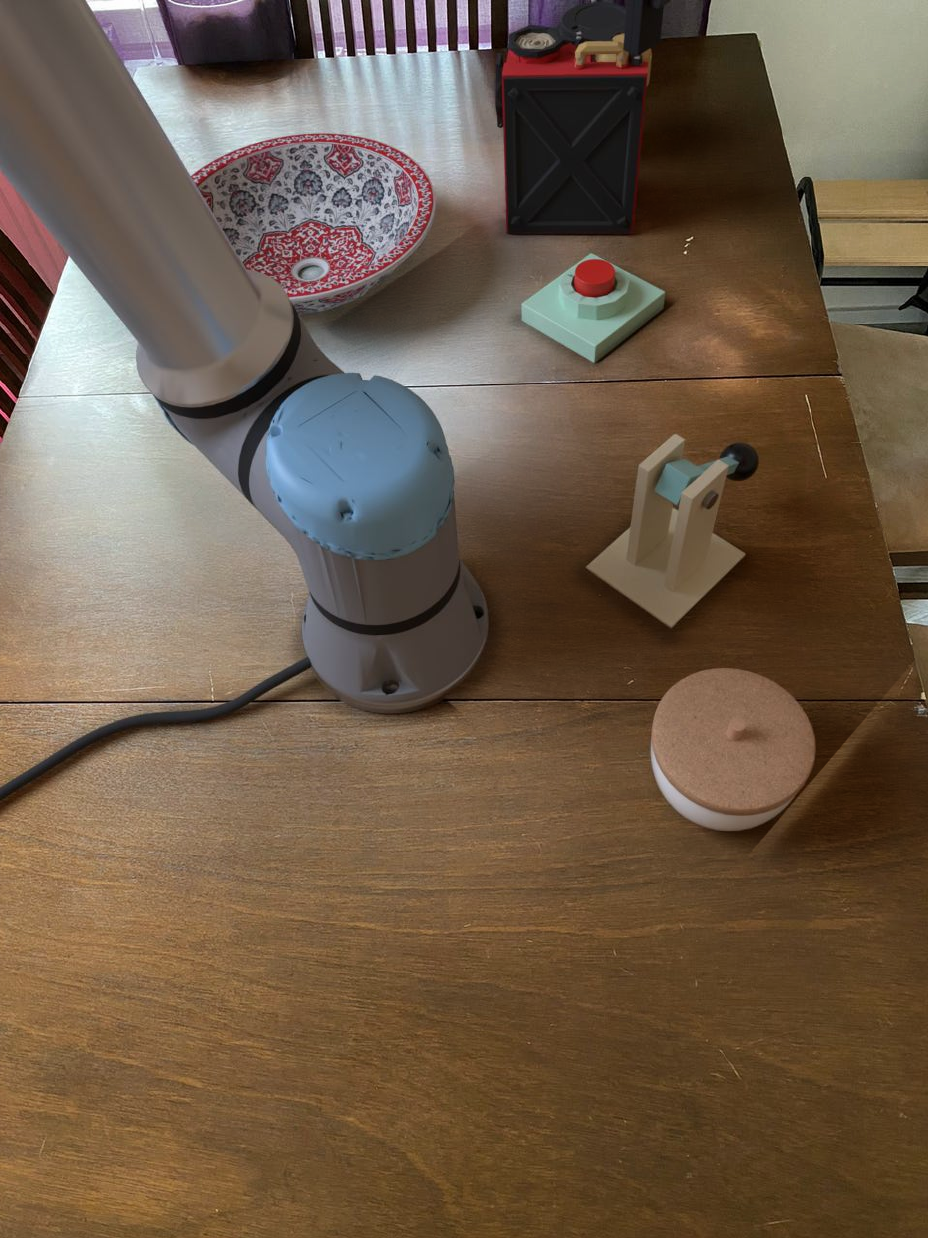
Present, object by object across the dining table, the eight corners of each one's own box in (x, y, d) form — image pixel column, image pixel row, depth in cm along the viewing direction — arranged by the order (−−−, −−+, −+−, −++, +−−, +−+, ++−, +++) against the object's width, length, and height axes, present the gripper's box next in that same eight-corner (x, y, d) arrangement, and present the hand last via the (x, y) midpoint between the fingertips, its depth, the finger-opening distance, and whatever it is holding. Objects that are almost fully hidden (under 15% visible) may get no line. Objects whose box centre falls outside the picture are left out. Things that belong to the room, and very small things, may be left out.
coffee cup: (543, 167, 116) (544, 36, 104) (561, 125, 121) (565, -6, 109) (620, 176, 114) (631, 43, 102) (636, 133, 119) (648, 1, 107)
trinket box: (691, 694, 75) (710, 628, 68) (817, 771, 71) (852, 710, 63) (613, 795, 71) (623, 737, 63) (742, 883, 67) (769, 833, 59)
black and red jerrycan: (636, 185, 113) (654, -1, 97) (636, 238, 108) (655, 50, 91) (502, 185, 115) (497, 2, 98) (495, 237, 109) (489, 52, 93)
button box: (594, 363, 97) (596, 331, 94) (521, 320, 101) (520, 288, 98) (663, 309, 101) (668, 276, 98) (590, 269, 105) (592, 237, 102)
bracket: (659, 508, 86) (677, 401, 75) (743, 562, 82) (774, 457, 72) (585, 574, 82) (592, 472, 72) (669, 635, 79) (691, 536, 68)
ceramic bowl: (131, 276, 109) (105, 212, 103) (335, 168, 119) (324, 103, 112) (280, 405, 96) (262, 341, 90) (496, 272, 106) (494, 205, 99)
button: (596, 303, 96) (597, 289, 95) (566, 287, 98) (566, 272, 97) (622, 284, 98) (623, 269, 96) (591, 268, 100) (592, 253, 98)
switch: (723, 466, 83) (739, 432, 81) (754, 484, 82) (771, 451, 80) (646, 492, 74) (663, 455, 72) (679, 513, 72) (697, 476, 71)
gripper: (814, -385, 54) (740, 52, 74) (633, -410, 60) (608, 3, 80) (734, -351, 52) (678, 93, 71) (551, -381, 57) (547, 39, 77)
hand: (641, 45), depth 75 cm, fingers closed
